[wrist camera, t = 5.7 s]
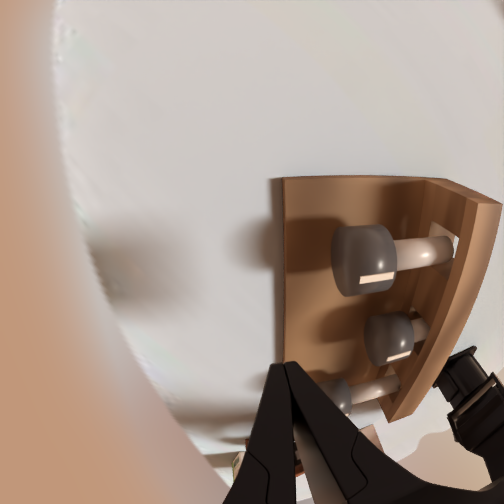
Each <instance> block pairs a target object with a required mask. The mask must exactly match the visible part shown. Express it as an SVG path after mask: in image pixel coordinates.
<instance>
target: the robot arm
mask: <svg viewBox="0 0 504 504" xmlns="http://www.w3.org/2000/svg"><path fill="white" fill-rule="evenodd" d="M476 349H477V347H476V346H474V347H472V348H470V349H468V350H466V351H464V352H461V353H459V354H457V355H455V356H453V357H450V358H449V359H448V360H447V362H446V363H445V365H444V367H443V369H442V370H441V372H440V374H439V375H438V377H437V379H436V380H435V382H434V383H433V385H432V387H433V388H436V387H439V389H440V391H441V392H442V394H443V395H444V397H445V399H446V401H447V402H450V404H451V405H452V407H453V409H454V410H453V411H452V412H450V413H448V414H447V416H448V417H447V419H448V421H449V423H450V426H451V428H452V431H453V435H454V440H455V441H456V442H459V443H460V444H461V445H462V446H463V447H464V448H465V449H466V450H468V451H470V452H472V453H474V454H476V455H479V456H481V457H483V459H484V461H485V464H486V467H487V469H488V472H489V475H490V478H491V481H492V483H490V484H489V485H487V486H485V487H484V488H482V489H480V490H479V491H471V490H464V489H458V488H452V487H447V486H441V485H437V484H432V483H429V482H426V481H424V480H422V479H420V478H418V477H416V476H415V475H413V474H412V473H410V472H409V471H408V470H406V469H405V468H403V467H402V466H401V465H399V464H398V463H397V462H395V461H394V460H392V459H391V458H390V457H388V456H387V455H386V454H385V453H383V452H382V451H381V450H380V449H379V448H377V447H376V446H375V445H374V444H373V443H372V442H371V441H370V440H369V439H368V438H367V437H366V436H365V435H364V434H363V433H362V432H361V431H359V429H358V428H357V427H356V426H355V425H354V424H353V423H352V422H351V421H350V419H349V418H348V417H347V416H346V415H345V414H344V413H343V412H342V411H341V410H340V409H339V408H338V407H337V406H336V405H335V403H334V402H333V401H332V400H331V399H330V398H329V397H328V396H327V395H326V394H325V393H324V391H323V390H322V389H321V388H320V387H319V386H318V385H317V384H316V383H315V382H314V380H313V379H312V378H311V377H310V376H309V375H308V374H307V373H306V372H305V370H304V369H303V368H302V367H301V366H300V365H299V364H298V363H297V362H296V361H288V362H284V363H273V364H271V365H270V367H269V371H268V375H267V379H266V382H265V386H264V390H263V393H262V397H261V400H260V404H259V407H258V411H257V414H256V418H255V421H254V425H253V428H252V431H251V435H250V438H249V441H248V445H247V448H246V452H245V454H244V457H243V460H242V463H241V466H240V468H239V471H238V474H237V476H236V478H235V480H234V483H233V485H232V487H231V489H230V491H229V493H228V494H227V496H226V498H225V500H224V502H223V503H222V504H296V476H295V451H294V439H295V442H296V446H297V449H298V452H299V455H300V459H301V462H302V465H303V468H304V472H305V475H306V478H307V481H308V484H309V488H310V491H311V494H312V497H313V500H314V503H315V504H504V386H503V384H502V383H501V381H500V380H499V378H498V377H497V376H496V375H495V374H494V372H492V373H491V374H490V376H489V377H488V375H487V374H486V372H485V371H484V370H483V368H482V367H481V366H480V364H479V363H478V362H477V360H476V359H475V358H474V356H473V355H474V353H475V351H476ZM495 382H496V385H495V386H494V387H492V386H493V385H494V384H495Z"/></svg>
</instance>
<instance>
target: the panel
mask: <svg viewBox="0 0 504 504" xmlns="http://www.w3.org/2000/svg"><path fill="white" fill-rule="evenodd" d="M282 189H283V228H284V348H283V363H284V362H288V361H296V362H297V363H298V364H299V365H300V366H301V367H302V368H303V369H304V370H305V372H306V373H307V374H308V375H309V376H310V377H311V378H312V379H313V380H314V382H315V383H318V382H323V381H328V380H333V379H338V378H344V379H345V381H346V382H347V384H348V387H349V386H353V385H357V384H361V383H365V382H369V381H372V380H376V379H379V378H383V377H386V376H389V375H392V374H396V375H397V376H398V378H399V380H400V382H401V387H400V389H399V391H396V392H393V393H390V394H387V395H384V396H381V397H378V398H377V399H378V401H379V403H380V406H381V408H382V410H383V412H384V415H385V417H386V419H387V421H388V423H391V422H393V421H396V420H399V419H401V418H404V417H406V416H409V415H411V414H413V412H414V411H415V410H416V408H417V407H418V405H419V404H420V402H421V401H422V400H423V398H424V397H425V395H426V394H427V392H428V391H429V389H430V388H431V386H432V384H433V383H434V381H435V380H436V378H437V376H438V375H439V373H440V371H441V370H442V368H443V366H444V365H445V363H446V361H447V359H448V358H449V356H450V354H451V352H452V350H453V348H454V346H455V344H456V342H457V340H458V338H459V336H460V334H461V332H462V330H463V328H464V326H465V324H466V322H467V319H468V317H469V315H470V312H471V310H472V308H473V305H474V303H475V300H476V298H477V295H478V293H479V290H480V287H481V284H482V282H483V279H484V276H485V273H486V270H487V267H488V263H489V260H490V257H491V253H492V250H493V246H494V242H495V238H496V234H497V230H498V226H499V221H500V216H501V211H502V205H503V204H501V203H499V202H497V201H495V200H493V199H491V198H489V197H487V196H485V195H483V194H481V193H478V192H476V191H474V190H472V189H469V188H467V187H465V186H462V185H460V184H458V183H455V182H453V181H450V180H448V179H441V178H427V177H407V176H371V175H339V176H301V177H282ZM373 224H380V225H383V226H384V227H385V228H387V230H388V231H389V232H390V234H391V236H392V238H393V240H403V239H414V238H424V237H434V236H448V237H449V238H450V239H451V241H452V243H453V242H454V237H455V235H456V236H457V237H458V238H459V242H458V246H457V250H456V254H455V258H453V257H452V259H451V260H450V261H449V262H448V263H442V264H436V265H431V266H425V267H419V268H413V269H407V270H400V271H397V272H396V277H395V280H394V282H393V284H392V286H391V287H390V288H389V289H388V290H385V291H380V292H375V293H369V294H363V295H357V296H350V297H344V296H343V295H342V294H341V293H340V292H339V290H338V288H337V286H336V283H335V280H334V276H333V272H332V265H331V242H332V237H333V234H334V232H335V230H336V229H337V228H338V227H345V226H359V225H373ZM394 311H403V312H404V313H405V314H406V315H407V316H408V317H409V319H410V321H411V320H415V319H418V318H423V319H424V321H425V322H426V323H427V324H428V326H429V327H430V328H431V329H430V331H429V334H428V336H427V338H426V339H424V340H421V341H418V342H415V343H414V347H413V351H412V353H411V354H410V356H409V357H408V358H405V359H402V360H399V361H396V362H392V363H389V364H386V365H382V366H378V367H377V366H375V365H373V364H372V363H371V361H370V360H369V358H368V356H367V353H366V349H365V344H364V327H365V323H366V321H367V319H368V318H369V317H371V316H376V315H381V314H385V313H390V312H394Z"/></svg>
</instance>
